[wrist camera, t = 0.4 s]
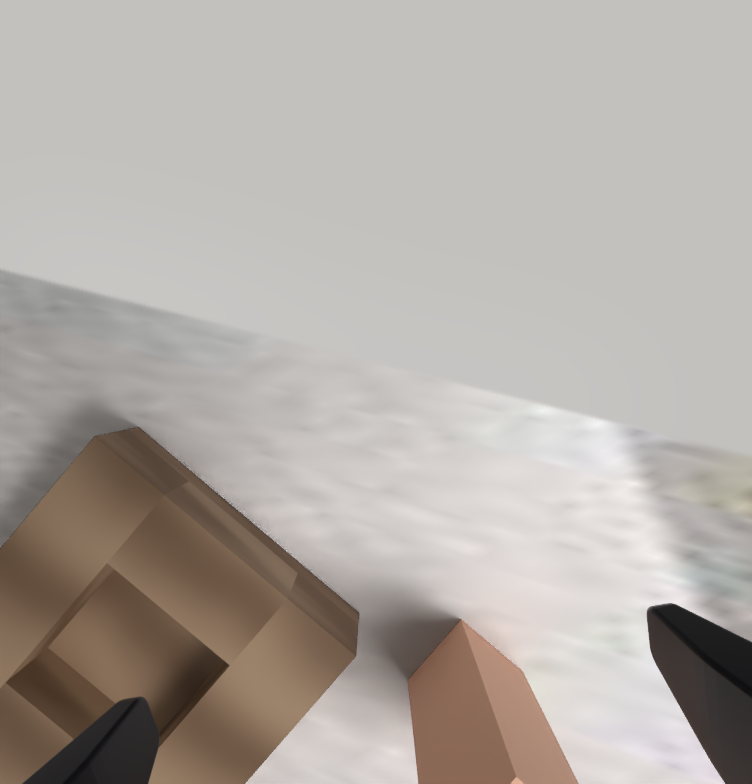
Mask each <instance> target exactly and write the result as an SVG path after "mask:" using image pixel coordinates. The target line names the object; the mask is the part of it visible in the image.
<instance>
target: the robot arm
mask: <svg viewBox="0 0 752 784" xmlns="http://www.w3.org/2000/svg"><path fill="white" fill-rule="evenodd" d="M647 623H648V632H649V642H650V649H651V653H652V656H653V658H654V661H655V663H656V665H657V667H658V668H659V670H660V672H661V674H662V675H663V677H664V679H665V681H666V683H667V684H668V686H669V688H670V690H671V692H672V693H673V695H674V697H675V699H676V701H677V702H678V704H679V706H680V708H681V709H682V711H683V713H684V715H685V717H686V718H687V720H688V722H689V724H690V726H691V727H692V729H693V731H694V733H695V734H696V736H697V738H698V740H699V742H700V743H701V745H702V747H703V749H704V750H705V752H706V754H707V755H708V757H709V759H710V761H711V762H712V764H713V765H714V767H715V768H716V770H717V771H718V773H719V775H720V776H721V778H722V779H723V781H724V782H725V784H752V642H751V641H749V640H746V639H744V638H742V637H740V636H738V635H736V634H734V633H732V632H730V631H728V630H726V629H724V628H722V627H720V626H718V625H716V624H714V623H712V622H710V621H708V620H706V619H704V618H702V617H700V616H698V615H696V614H694V613H692V612H690V611H688V610H686V609H684V608H682V607H680V606H678V605H676V604H672V603H667V604H662V605H656V606H651V607H649V608H648V610H647ZM159 741H160V736H159V730H158V727H157V725H156V722H155V720H154V717H153V714H152V712H151V709H150V707H149V704H148V702H147V700H146V699H145V698H144V697H140V696H139V697H133V698H128V699H123V700H120V701H119V702H117V703H116V704H115V705H114V706H112V707H111V708H110V709H109V710H108V711H107V712H105V713H104V714H103V715H102V716H101V717H99V718H98V719H97V720H96V721H95V722H94V723H92V724H91V725H90V726H89V727H88V728H87V729H85V730H84V731H83V732H82V733H81V734H80V735H78V736H77V737H76V738H75V739H74V740H72V741H71V742H70V743H69V744H68V745H67V746H65V747H64V748H63V749H62V750H61V751H60V752H58V753H57V754H56V755H55V756H54V757H53V758H51V759H50V760H49V761H48V762H47V763H46V764H44V765H43V766H42V767H41V768H40V769H38V770H37V771H36V772H35V773H34V774H33V775H31V776H30V777H29V778H28V779H27V780H26V781H24V782H23V783H22V784H148V783H149V780H150V776H151V773H152V769H153V766H154V762H155V759H156V755H157V752H158V748H159Z"/></svg>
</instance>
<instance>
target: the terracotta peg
mask: <svg viewBox="0 0 752 784" xmlns="http://www.w3.org/2000/svg"><path fill="white" fill-rule="evenodd" d="M408 687H409V697H410V706H411V716H412V725H413V735H414V745H415V754H416V764H417V773H418V783H419V784H578V782H577V780H576V778H575V776H574V774H573V772H572V770H571V768H570V766H569V764H568V762H567V760H566V758H565V756H564V754H563V752H562V750H561V747H560V745H559V743H558V741H557V739H556V737H555V735H554V733H553V731H552V729H551V727H550V725H549V723H548V721H547V719H546V717H545V715H544V713H543V711H542V709H541V707H540V705H539V703H538V701H537V699H536V697H535V695H534V693H533V691H532V689H531V687H530V685H529V683H528V681H527V679H526V677H525V675H524V673H523V671H521V670H520V669H519V668H518V667H517V666H516V665H514V664H513V663H512V662H511V661H510V660H508V659H507V658H506V657H505V656H504V655H503V654H501V653H500V652H499V651H498V650H497V649H495V648H494V647H493V646H492V645H491V644H490V643H488V642H487V641H486V640H485V639H484V638H483V637H481V636H480V635H479V634H478V633H477V632H475V631H474V630H473V629H472V628H471V627H470V626H468V625H467V624H466V623H465V622H464V621H462V620H460V621H459V622H458V623H457V625H456V626H455V627H454V628H453V629H452V630H451V631H450V633H449V634H448V635H447V636H446V637H445V638H444V639H443V641H442V642H441V643H440V644H439V645H438V646H437V647H436V649H435V650H434V651H433V652H432V653H431V654H430V655H429V657H428V658H427V659H426V660H425V661H424V662H423V663H422V665H421V666H420V667H419V668H418V669H417V670H416V671H415V673H414V674H413V675H412V676H411V677H410V678H409V679H408Z"/></svg>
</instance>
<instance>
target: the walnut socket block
mask: <svg viewBox="0 0 752 784" xmlns="http://www.w3.org/2000/svg"><path fill="white" fill-rule="evenodd" d="M358 622H359V613H358V612H357V611H356V610H355V609H354V608H352V607H351V606H350V605H349V604H348V603H346V602H345V601H344V600H343V599H342V598H340V597H339V596H338V595H337V594H336V593H335V592H333V591H332V590H331V589H330V588H329V587H327V586H326V585H325V584H324V583H323V582H322V581H320V580H319V579H318V578H317V577H316V576H314V575H313V574H312V573H311V572H310V571H308V570H307V569H306V568H305V567H304V566H303V565H301V564H300V563H299V562H298V561H297V560H295V559H294V558H293V557H292V556H291V555H289V554H288V553H287V552H286V551H285V550H284V549H282V548H281V547H280V546H279V545H278V544H276V543H275V542H274V541H273V540H272V539H271V538H269V537H268V536H267V535H266V534H265V533H263V532H262V531H261V530H260V529H259V528H257V527H256V526H255V525H254V524H253V523H252V522H250V521H249V520H248V519H247V518H246V517H244V516H243V515H242V514H241V513H240V512H238V511H237V510H236V509H235V508H234V507H233V506H231V505H230V504H229V503H228V502H227V501H225V500H224V499H223V498H222V497H221V496H220V495H218V494H217V493H216V492H215V491H214V490H212V489H211V488H210V487H209V486H208V485H206V484H205V483H204V482H203V481H202V480H201V479H199V478H198V477H197V476H196V475H195V474H193V473H192V472H191V471H190V470H189V469H187V468H186V467H185V466H184V465H183V464H182V463H180V462H179V461H178V460H177V459H176V458H174V457H173V456H172V455H171V454H170V453H169V452H167V451H166V450H165V449H164V448H163V447H161V446H160V445H159V444H158V443H157V442H155V441H154V440H153V439H152V438H151V437H150V436H148V435H147V434H146V433H145V432H144V431H142V430H141V429H140V428H139V427H137V428H132V429H128V430H123V431H118V432H113V433H108V434H104V435H99V436H95V437H94V438H93V439H92V440H91V441H90V443H89V444H88V445H87V446H86V447H85V449H84V450H83V451H82V452H81V453H80V454H79V456H78V457H77V458H76V459H75V460H74V462H73V463H72V464H71V465H70V466H69V468H68V469H67V470H66V471H65V472H64V473H63V475H62V476H61V477H60V478H59V479H58V481H57V482H56V483H55V484H54V485H53V487H52V488H51V489H50V490H49V491H48V492H47V494H46V495H45V496H44V497H43V498H42V500H41V501H40V502H39V503H38V504H37V506H36V507H35V508H34V509H33V510H32V512H31V513H30V514H29V515H28V516H27V517H26V519H25V520H24V521H23V522H22V523H21V525H20V526H19V527H18V528H17V529H16V531H15V532H14V533H13V534H12V535H11V536H10V538H9V539H8V540H7V541H6V542H5V544H4V545H3V546H2V547H1V548H0V784H22V783H23V782H24V781H26V780H27V779H28V778H29V777H30V776H31V775H33V774H34V773H35V772H36V771H37V770H38V769H40V768H41V767H42V766H43V765H44V764H46V763H47V762H48V761H49V760H50V759H51V758H53V757H54V756H55V755H56V754H57V753H58V752H60V751H61V750H62V749H63V748H64V747H65V746H67V745H68V744H69V743H70V742H71V741H72V740H74V739H75V738H76V737H77V736H78V735H80V734H81V733H82V732H83V731H84V730H85V729H87V728H88V727H89V726H90V725H91V724H92V723H94V722H95V721H96V720H97V719H98V718H99V717H101V716H102V715H103V714H104V713H105V712H107V711H108V710H109V709H110V708H111V707H112V706H114V705H115V704H116V703H117V702H119V701H120V700H123V699H128V698H133V697H139V696H140V697H144V698H145V699H146V700H147V702H148V704H149V707H150V709H151V712H152V714H153V717H154V720H155V722H156V725H157V727H158V730H159V736H160V741H159V748H158V752H157V755H156V759H155V762H154V766H153V769H152V773H151V776H150V780H149V783H148V784H245V783H246V782H247V781H248V779H249V778H250V777H251V776H252V775H253V774H254V773H255V771H256V770H257V769H258V768H259V767H260V766H261V765H262V763H263V762H264V761H265V760H266V759H267V758H268V757H269V755H270V754H271V753H272V752H273V751H274V750H275V748H276V747H277V746H278V745H279V744H280V743H281V742H282V740H283V739H284V738H285V737H286V736H287V735H288V734H289V732H290V731H291V730H292V729H293V728H294V727H295V726H296V724H297V723H298V722H299V721H300V720H301V719H302V717H303V716H304V715H305V714H306V713H307V712H308V711H309V709H310V708H311V707H312V706H313V705H314V704H315V703H316V701H317V700H318V699H319V698H320V697H321V696H322V695H323V693H324V692H325V691H326V690H327V689H328V688H329V686H330V685H331V684H332V683H333V682H334V681H335V680H336V678H337V677H338V676H339V675H340V674H341V673H342V672H343V670H344V669H345V668H346V667H347V666H348V665H349V664H350V662H351V661H352V660H353V659H354V658H355V657H356V650H357V636H358Z"/></svg>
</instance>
